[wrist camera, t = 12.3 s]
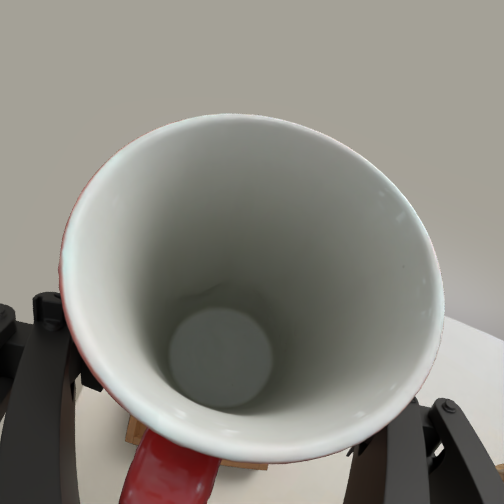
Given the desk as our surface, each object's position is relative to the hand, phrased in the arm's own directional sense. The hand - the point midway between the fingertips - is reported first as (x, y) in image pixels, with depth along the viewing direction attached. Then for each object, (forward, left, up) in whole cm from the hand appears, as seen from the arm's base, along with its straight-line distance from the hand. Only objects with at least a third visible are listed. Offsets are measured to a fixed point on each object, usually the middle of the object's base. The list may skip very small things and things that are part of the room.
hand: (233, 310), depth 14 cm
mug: (0, -3, -5) cm, 6 cm away
